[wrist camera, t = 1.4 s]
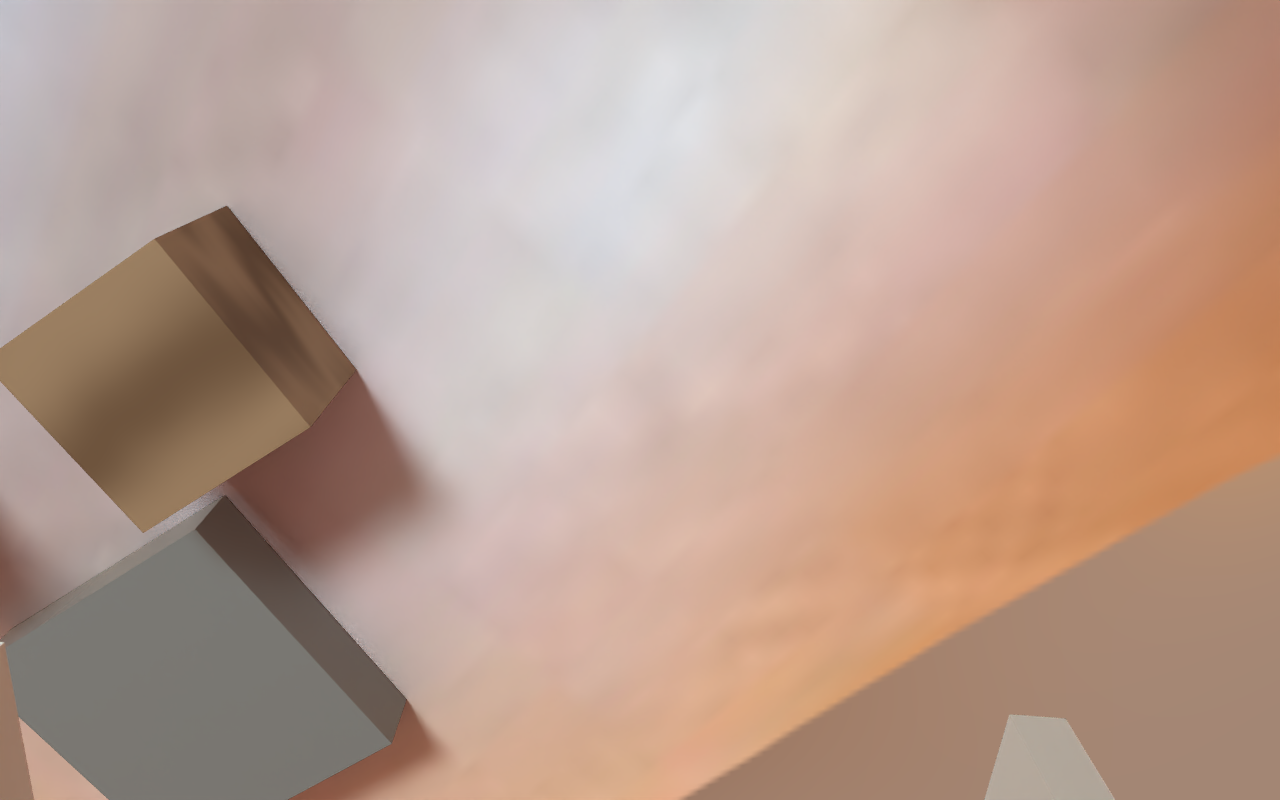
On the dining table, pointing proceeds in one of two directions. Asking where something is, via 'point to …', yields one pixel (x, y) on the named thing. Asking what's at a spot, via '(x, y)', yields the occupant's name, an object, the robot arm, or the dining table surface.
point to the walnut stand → (177, 368)
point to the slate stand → (200, 673)
